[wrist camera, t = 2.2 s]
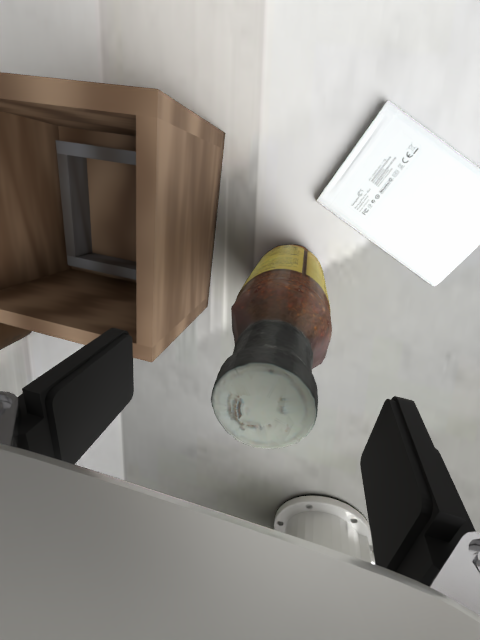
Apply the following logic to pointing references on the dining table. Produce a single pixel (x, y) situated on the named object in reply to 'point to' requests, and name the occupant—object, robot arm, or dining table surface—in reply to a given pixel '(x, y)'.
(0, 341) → the olive oil
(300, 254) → the sauce bottle
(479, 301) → the dining table surface
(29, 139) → the walled box
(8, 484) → the robot arm
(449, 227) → the external hard drive
